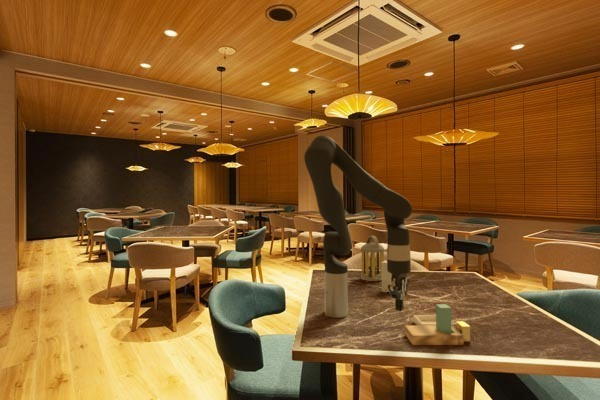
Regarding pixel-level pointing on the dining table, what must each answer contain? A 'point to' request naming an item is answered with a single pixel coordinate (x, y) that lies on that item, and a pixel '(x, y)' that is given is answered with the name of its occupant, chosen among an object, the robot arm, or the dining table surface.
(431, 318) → the dish
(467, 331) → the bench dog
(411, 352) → the dining table surface
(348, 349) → the dining table surface
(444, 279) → the dining table surface
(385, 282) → the skincare box
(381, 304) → the dining table surface
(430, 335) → the flat wooden block
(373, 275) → the lantern
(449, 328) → the peg
